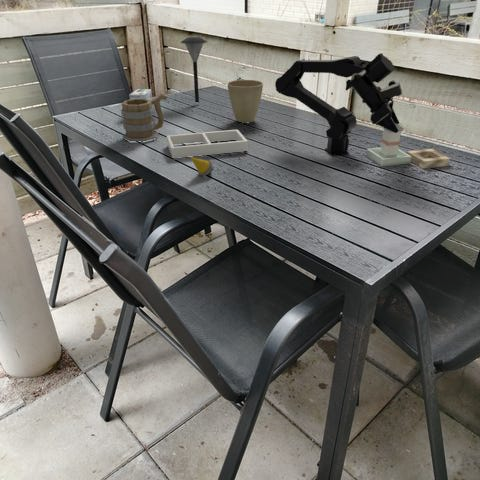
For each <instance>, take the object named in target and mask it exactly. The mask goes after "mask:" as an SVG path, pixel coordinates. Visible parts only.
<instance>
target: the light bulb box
mask: <svg viewBox="0 0 480 480" xmlns="http://www.w3.org/2000/svg"><path fill="white" fill-rule="evenodd" d="M128 96H129V100H130V99H147V100H153V97H152V89H151V88H149V89H147V88H137V89H135V90H134V91H133V92H131V93H129V95H128ZM153 105H154V104H153ZM153 105H152V107H154V106H153Z"/></svg>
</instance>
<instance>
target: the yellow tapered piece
mask: <svg viewBox="0 0 480 480" xmlns="http://www.w3.org/2000/svg"><path fill="white" fill-rule="evenodd" d="M189 159H190V160H191V161H192V163H193V165H194V166H195V168H196V170H197V173H198V175H200V176H201V177H206V176H207V175H209V174H212V173H211V172H213V171H214V168H213V162H212V161H210V160H209V159H201V158H198V157H190V158H189Z"/></svg>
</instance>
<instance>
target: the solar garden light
mask: <svg viewBox="0 0 480 480" xmlns="http://www.w3.org/2000/svg"><path fill="white" fill-rule="evenodd" d="M206 43H208V41H207V40H205V39H203V38H202V37H200V36H189V37H186V38H184V39H182V41H180V44H184V45H185V47H186V49H187V51H188V54H189V55H190V59H191V60H192V67H193V68H192V69H193V85H194V86H193V87H194V101H195V102H199V103H200V98H199V96H200V95H199V76H198V59H199V56H200V54H201V51H202V48H203V45H204V44H206ZM195 102H194V103H195Z"/></svg>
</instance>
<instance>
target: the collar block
mask: <svg viewBox="0 0 480 480" xmlns="http://www.w3.org/2000/svg"><path fill="white" fill-rule="evenodd" d="M406 153H407V154H408V155H410V156H412V157H411V161H410V163H412V164H414V165H416V166H417V167H420V168H421V169H422V170H423V169H431V168H432V169H433V168H440V167H447V166H449V165H450V161H451V157H449V156H446V155H444V154H443V153H441V152H439V151H437V150H435V149H434V148H425V149H416V150H407V151H406Z"/></svg>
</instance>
